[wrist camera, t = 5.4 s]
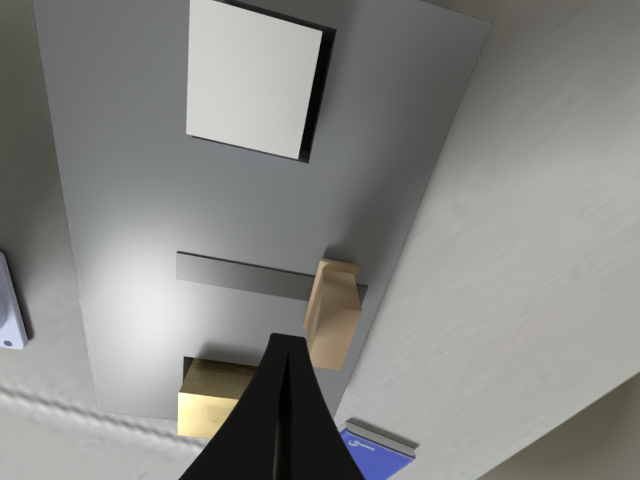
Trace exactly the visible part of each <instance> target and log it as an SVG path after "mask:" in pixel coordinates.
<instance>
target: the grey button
mask: <svg viewBox="0 0 640 480" xmlns="http://www.w3.org/2000/svg"><path fill="white" fill-rule="evenodd" d="M321 37H322V31H319V30H315V29H312V28H308V27H305V26H301V25H298V24H294V23H291V22H287V21H284V20H280V19H277V18H273V17H270V16H266V15H263V14H259V13H256V12H252V11H249V10H245V9H242V8H238V7H235V6H231V5H228V4H224V3H221V2H217V1H214V0H190V16H189V51H188V86H187V121H186V134H189V135H193V136H198V137H202V138H206V139H211V140H215V141H220V142H224V143H228V144H233V145H237V146H242V147H246V148H250V149H255V150H259V151H263V152H268V153H272V154H277V155H281V156H285V157H290V158H294V159H298V156H299V151H300V146H301V141H302V135H303V130H304V125H305V120H306V115H307V110H308V105H309V99H310V94H311V89H312V84H313V79H314V74H315V69H316V63H317V58H318V53H319V48H320V43H321Z"/></svg>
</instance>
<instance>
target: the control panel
mask: <svg viewBox="0 0 640 480" xmlns="http://www.w3.org/2000/svg"><path fill="white" fill-rule="evenodd" d="M214 1H217V2H221V3H224V4H228V5H231V6H235V7H238V8H242V9H245V10H249V11H252V12H256V13H259V14H263V15H266V16H270V17H273V18H277V19H280V20H284V21H287V22H291V23H294V24H298V25H301V26H305V27H308V28H312V29H315V30H319V31H322V37H321V39H323V40H327V41H330V42H332V44H331V49H330V54H329V59H328V63H327V68H326V73H325V78H324V83H323V87H322V92H321V97H320V102H319V106H318V111H317V116H316V121H315V126H314V130H313V135H312V140H311V145H310V150H309V152H308V151H304V150H300V151H299V156H298V159H294V158H290V157H285V156H281V155H277V154H272V153H268V152H263V151H259V150H255V149H250V148H246V147H242V146H237V145H233V144H228V143H224V142H220V141H215V140H211V139H206V138H202V137H198V136H193V135H189V134H186V121H187V86H188V51H189V16H190V0H32V5H33V11H34V17H35V23H36V30H37V36H38V42H39V48H40V55H41V61H42V67H43V73H44V80H45V86H46V92H47V98H48V104H49V111H50V117H51V123H52V129H53V136H54V142H55V148H56V154H57V161H58V167H59V173H60V179H61V186H62V192H63V198H64V204H65V211H66V217H67V223H68V229H69V236H70V242H71V248H72V254H73V261H74V267H75V273H76V279H77V286H78V292H79V298H80V304H81V310H82V317H83V323H84V329H85V335H86V342H87V348H88V354H89V360H90V367H91V373H92V379H93V385H94V392H95V398H96V404H97V410H98V412H102V413H111V414H120V415H129V416H138V417H147V418H156V419H165V420H174V421H178V400H179V391H180V388H181V386H182V384H183V382H184V379H185V377H186V375H187V373H188V370H189V368H190V366H191V364H192V361H193V359H194V358H200V359H208V360H215V361H222V362H230V363H237V364H244V365H252V366H258V365H259V364H260V362H261V359H262V357H263V355H264V353H265V350H266V348H267V345H268V342H269V338H270V334H272V333H280V334H287V335H293V336H300V337H305V339H306V341H307V329H305V328H302V325H303V321H304V317H305V313H306V309H307V306H308V302H309V298H310V294H311V291H312V287H313V283H314V279H315V275H316V272H317V268H318V264H319V260H320V258H324V259H330V260H335V261H340V262H346V263H351V264H356V265H359V268H360V269H359V272H358V275H357V277H356V280H355V282H356V287H357V291H358V295H359V300H360V304H361V308H362V313H361V316H360V318H359V321H358V324H357V327H356V329H355V332H354V335H353V337H352V340H351V343H350V345H349V348H348V351H347V353H346V356H345V359H344V361H343V364H342V367H341V369H340V370H334V369H327V368H320V367H313V369H314V372H315V375H316V378H317V381H318V384H319V387H320V389H321V392H322V395H323V397H324V400H325V402H326V405H327V407H328V409H329V412H330V414H331V416H332V418H333V419H334V417H335V414H336V412H337V409H338V407H339V404H340V402H341V399H342V397H343V394H344V392H345V389H346V387H347V384H348V382H349V379H350V377H351V374H352V372H353V369H354V367H355V364H356V362H357V359H358V357H359V354H360V352H361V349H362V347H363V344H364V342H365V339H366V337H367V334H368V332H369V329H370V327H371V324H372V322H373V319H374V317H375V314H376V312H377V309H378V307H379V304H380V302H381V299H382V297H383V294H384V292H385V289H386V287H387V284H388V282H389V279H390V277H391V274H392V272H393V269H394V267H395V264H396V262H397V259H398V257H399V254H400V252H401V249H402V247H403V244H404V242H405V239H406V237H407V234H408V232H409V229H410V227H411V224H412V222H413V219H414V217H415V214H416V212H417V209H418V207H419V204H420V202H421V199H422V197H423V194H424V192H425V189H426V187H427V184H428V182H429V179H430V177H431V174H432V172H433V169H434V167H435V164H436V162H437V159H438V157H439V154H440V152H441V149H442V147H443V144H444V142H445V139H446V137H447V134H448V132H449V129H450V127H451V124H452V122H453V119H454V117H455V114H456V112H457V109H458V107H459V104H460V102H461V99H462V97H463V94H464V92H465V89H466V87H467V84H468V82H469V79H470V77H471V74H472V72H473V69H474V67H475V64H476V62H477V59H478V57H479V54H480V52H481V49H482V47H483V44H484V42H485V39H486V37H487V34H488V32H489V29H490V27H491V24H492V23H491V22H488V21H484V20H481V19H478V18H475V17H472V16H468V15H465V14H462V13H459V12H456V11H452V10H449V9H446V8H443V7H440V6H436V5H433V4H430V3H427V2H424V1H420V0H214Z"/></svg>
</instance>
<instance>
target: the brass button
mask: <svg viewBox="0 0 640 480" xmlns="http://www.w3.org/2000/svg"><path fill="white" fill-rule="evenodd" d="M257 367H258V366H252V365H244V364H237V363H230V362H222V361H215V360H208V359H200V358H194V359H193V361H192V364H191V366H190V368H189V370H188V373H187V375H186V377H185V379H184V382H183V384H182V386H181V388H180V391H179V400H178V435H184V436H194V437H203V438H213V436H214V435H215V434H216V432H217V431H218V430H219V428H220V427H221V426H222V424H223V423H224V421H225V420H226V419H227V417H228V416H229V414H230V413H231V411H232V410H233V408H234V407H235V405H236V404H237V402H238V401H239V399H240V397H241V396H242V394H243V392H244V391H245V389H246V387H247V386H248V384H249V382H250V381H251V379H252V377H253V375H254V373H255V371H256V369H257Z"/></svg>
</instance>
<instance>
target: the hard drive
mask: <svg viewBox="0 0 640 480" xmlns="http://www.w3.org/2000/svg"><path fill="white" fill-rule="evenodd" d="M337 429H338V431H339V433H340V435H341V437H342V439H343V441H344V443H345V445H346V446H347V448H348V450H349V452H350V454H351V456H352V457H353V459H354V461H355V462H356V464H357V466H358V467H359V469H360V471H361V472H362V474H363V476H364V477H365V479H366V480H386V479H388V478H389V477H390V476H392V475H393V474H395V473H396V472H397V471H399V470H400V469H402V468H403V467H405V466H406V465H407V464H409V463H410V462H412V461H413V460H414V459H416V457H415V453H414V449H413V448H410V447H408V446H405V445H403V444H400V443H398V442H395V441H393V440H391V439H388V438H386V437H383V436H381V435H378V434H376V433H373V432H371V431H368V430H366V429H363V428H361V427H358V426H356V425H354V424H351V423H349V422H346V421H345V422H344V423H343V424H342V425H341V426H340V427H338V428H337Z"/></svg>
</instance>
